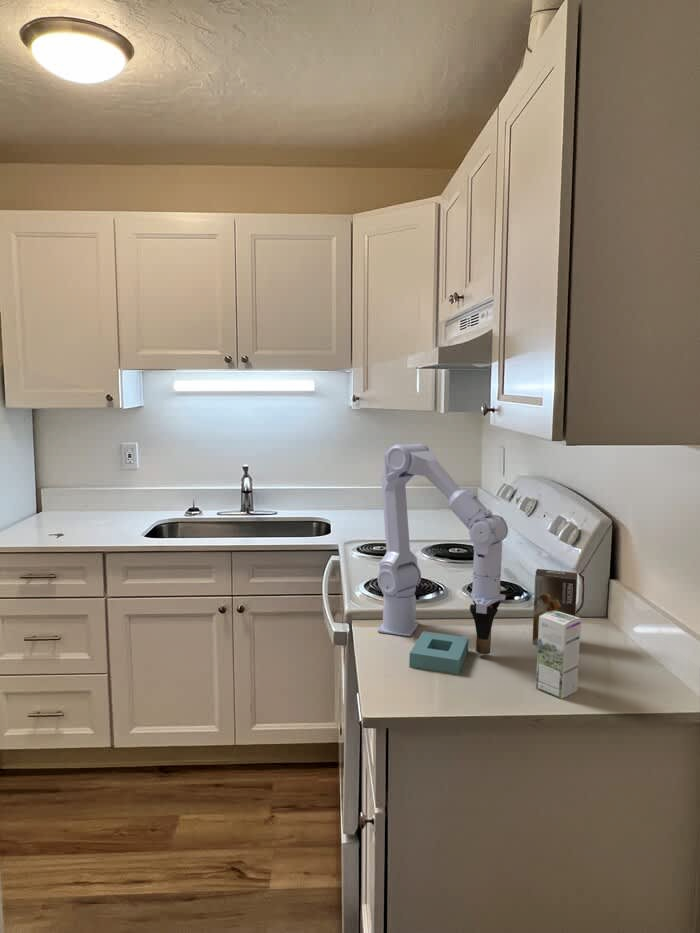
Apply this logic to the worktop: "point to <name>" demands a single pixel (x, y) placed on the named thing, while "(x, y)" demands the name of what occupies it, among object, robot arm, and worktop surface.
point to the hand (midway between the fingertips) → (483, 636)
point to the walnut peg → (484, 643)
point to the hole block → (439, 652)
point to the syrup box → (558, 653)
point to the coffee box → (553, 595)
